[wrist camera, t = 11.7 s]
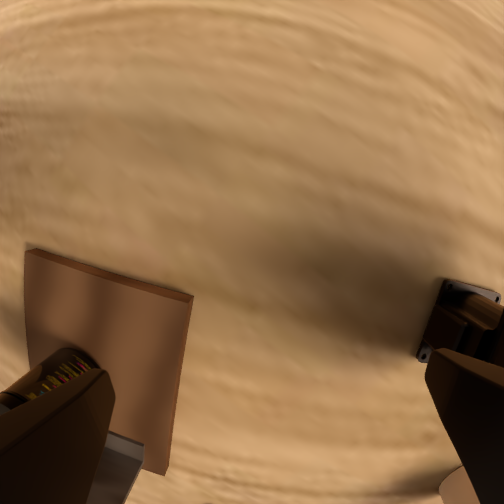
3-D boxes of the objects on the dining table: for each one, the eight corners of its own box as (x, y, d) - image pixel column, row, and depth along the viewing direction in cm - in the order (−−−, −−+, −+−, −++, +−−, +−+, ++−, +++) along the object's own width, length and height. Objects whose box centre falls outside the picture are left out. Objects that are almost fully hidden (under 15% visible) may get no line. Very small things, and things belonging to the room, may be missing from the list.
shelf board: (193, 296, 20) (117, 391, 9) (168, 465, 23) (132, 557, 12) (36, 248, 21) (-74, 279, 9) (47, 413, 24) (-13, 475, 12)
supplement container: (58, 330, 20) (-18, 383, 11) (119, 370, 20) (56, 445, 11) (50, 380, 21) (-10, 435, 12) (105, 416, 21) (55, 487, 12)
